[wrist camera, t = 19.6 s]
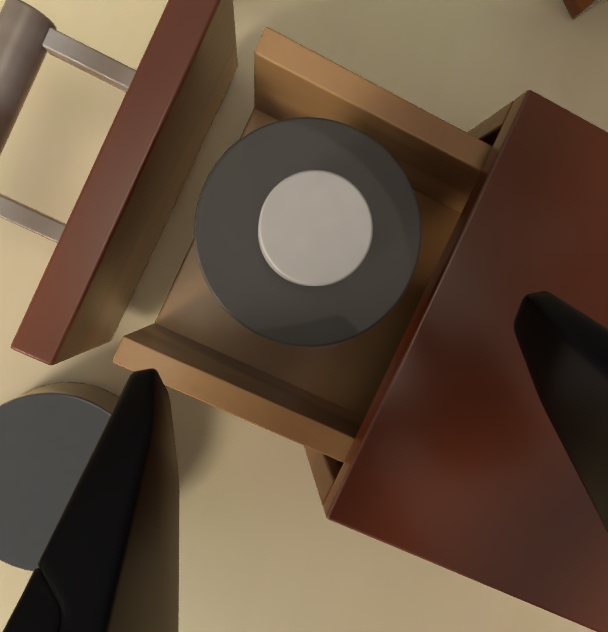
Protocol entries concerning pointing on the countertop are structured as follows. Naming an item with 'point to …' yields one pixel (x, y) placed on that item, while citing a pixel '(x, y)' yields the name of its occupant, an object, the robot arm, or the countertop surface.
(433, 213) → the drawer
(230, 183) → the pepper mill
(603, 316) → the cabinet
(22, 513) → the disc
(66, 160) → the countertop surface
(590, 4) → the food container
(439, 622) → the countertop surface
